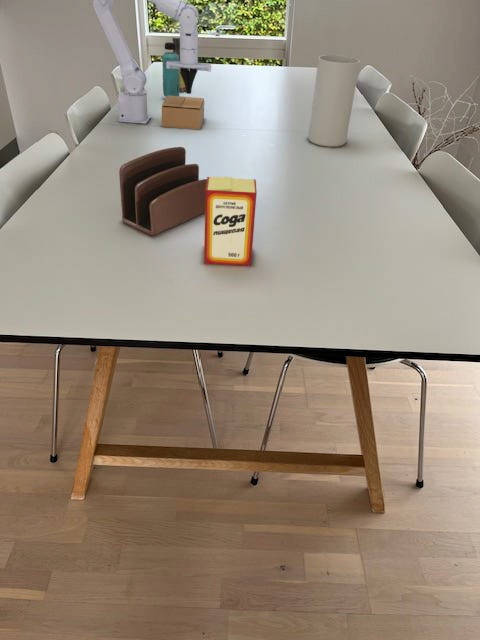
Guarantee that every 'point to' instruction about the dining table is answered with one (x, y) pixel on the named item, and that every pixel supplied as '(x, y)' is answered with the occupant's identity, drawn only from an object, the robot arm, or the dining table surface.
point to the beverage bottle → (170, 72)
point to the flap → (192, 102)
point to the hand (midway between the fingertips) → (188, 93)
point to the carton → (181, 114)
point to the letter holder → (161, 191)
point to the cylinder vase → (333, 99)
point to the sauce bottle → (177, 51)
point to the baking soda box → (229, 220)
